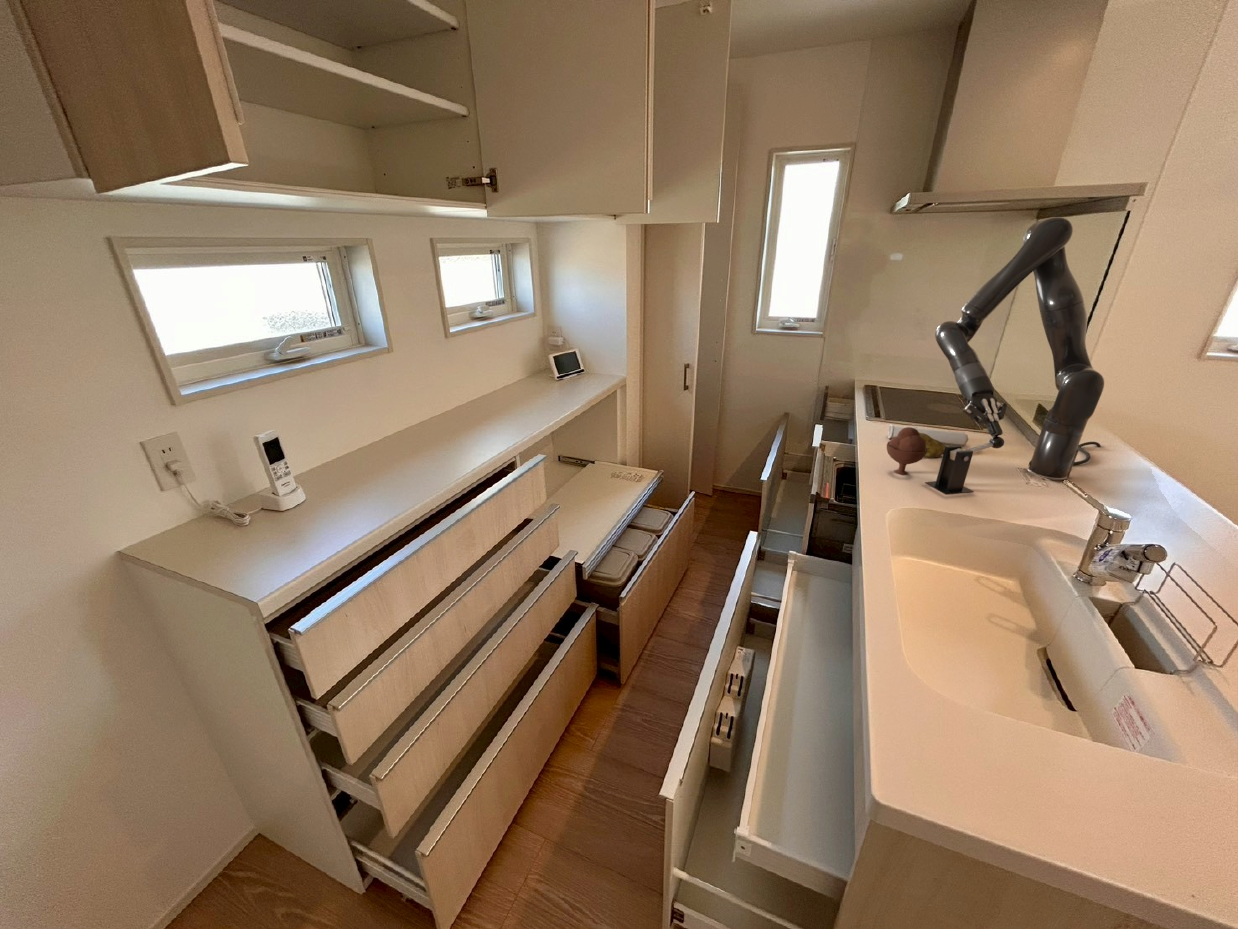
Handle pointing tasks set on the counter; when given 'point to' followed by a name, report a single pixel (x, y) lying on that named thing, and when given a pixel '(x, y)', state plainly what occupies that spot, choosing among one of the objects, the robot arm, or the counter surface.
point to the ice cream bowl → (906, 448)
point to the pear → (933, 446)
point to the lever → (981, 446)
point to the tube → (935, 435)
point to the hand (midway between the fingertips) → (997, 435)
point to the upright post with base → (953, 472)
